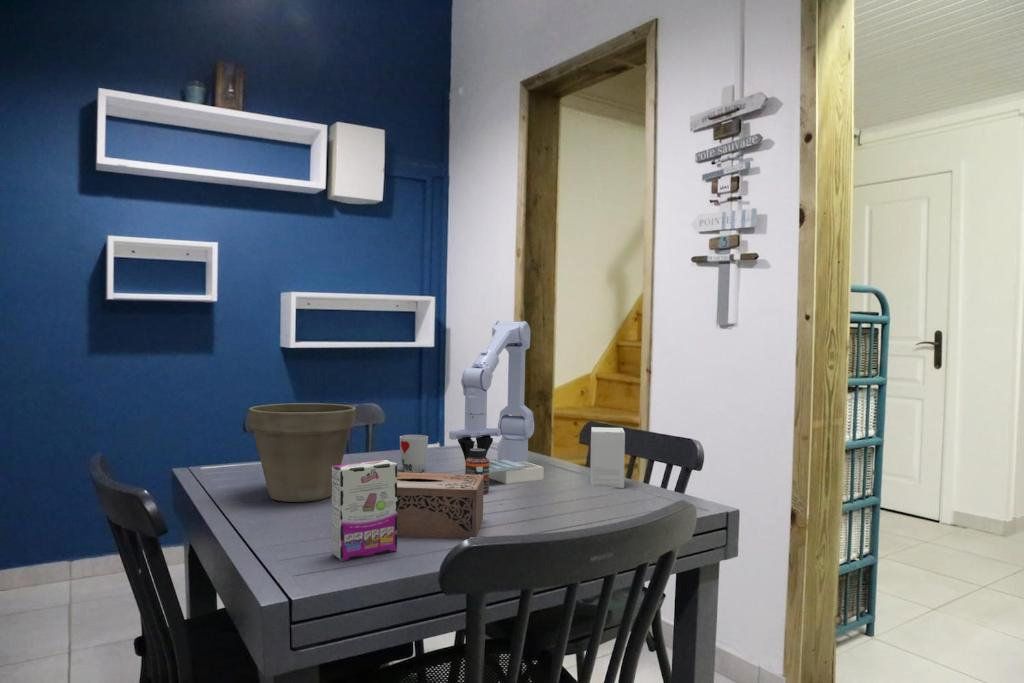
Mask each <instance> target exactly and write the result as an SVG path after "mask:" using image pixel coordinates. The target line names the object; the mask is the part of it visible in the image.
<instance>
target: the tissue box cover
mask: <svg viewBox="0 0 1024 683" xmlns="http://www.w3.org/2000/svg"><path fill="white" fill-rule="evenodd" d="M483 488H484V475H468V474H462V473H461V474H460V473H437V472H436V473H434V472H433V473H430V472H420V473H406V472H404V471H403V472H401V471H400V472H399V471H397V537H403V536H407V537H408V538H412V537H413V538H436V539H437V538H438V539H460V540H461V539H464V540H465V539H466V538H470V537H476V536H478V534H479V531H480V528H481V526H482V523H483V521H482V520H484V495H483ZM476 538H477V537H476ZM466 540H467V539H466Z"/></svg>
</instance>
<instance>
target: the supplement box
mask: <svg viewBox="0 0 1024 683" xmlns="http://www.w3.org/2000/svg"><path fill="white" fill-rule="evenodd" d="M590 428H591V429H590V470H589V472H590V474H589V475H590V477H589V478H590V486H608V487H613V488H616V489H617V488H619V489H624V488H625V466H626V465H625V464H626V463H625V461H626V458H625V454H626V447H625V446H626V432H625V430H624V428H623V427H601V426H599V427H598V426H596V427H595V426H591V427H590Z"/></svg>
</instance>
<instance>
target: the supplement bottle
mask: <svg viewBox="0 0 1024 683" xmlns="http://www.w3.org/2000/svg"><path fill="white" fill-rule="evenodd" d="M469 454H470V457H468V458H467V459H466V463H465V467H464V468H465V470H464V473H465V474H468V475H484V488H483V496H484V495H487V494H489V490H490V489H489V488H490V487H489V486H490V478H489V461H490V459H489V458H488V457H487V455H486V450H485V449H480V448H477V447H476V448H473V449H470V453H469Z"/></svg>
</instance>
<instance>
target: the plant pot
mask: <svg viewBox="0 0 1024 683" xmlns="http://www.w3.org/2000/svg"><path fill="white" fill-rule="evenodd" d="M356 411H357V408H356V407H355V406H353V405H348V404H339V403H323V402H322V403H320V402H293V403H292V402H291V403H270V404H262V405H256V406H252V407H251V406H250V408H248V421H249V422H248V424H249V429H251V431H253V433H254V438H255V444H256V448H257V452H258V456H259V459H260V463H261V464H260V465H261V468H262V472H263V476H264V479H265V480H264V481H265V484H266V488H267V491H268V492H267V493H268V495H269V497H270V498H271V500H272V499H273V500H275V501H279V502H284V503H285V502H288V503H304V502H314V501H315V502H316V501H319V500H324V498H325V499H328V498H329V497H332V466H336V465H342V462H343V459H344V455H345V452H346V448H347V445H348V441H349V437H350V433H351V429H353V428H354V427H355V424H356V415H357V414H356V413H357V412H356Z"/></svg>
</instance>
